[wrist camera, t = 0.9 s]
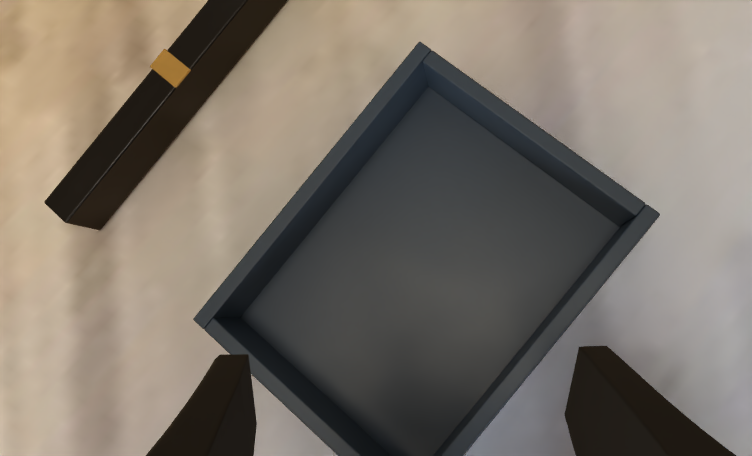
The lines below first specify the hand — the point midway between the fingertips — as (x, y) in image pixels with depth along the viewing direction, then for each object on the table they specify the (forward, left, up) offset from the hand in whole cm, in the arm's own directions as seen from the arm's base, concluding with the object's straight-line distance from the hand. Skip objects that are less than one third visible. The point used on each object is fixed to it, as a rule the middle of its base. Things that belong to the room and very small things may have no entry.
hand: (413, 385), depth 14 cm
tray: (+3, -2, -12) cm, 13 cm away
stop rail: (+17, -2, -12) cm, 21 cm away
